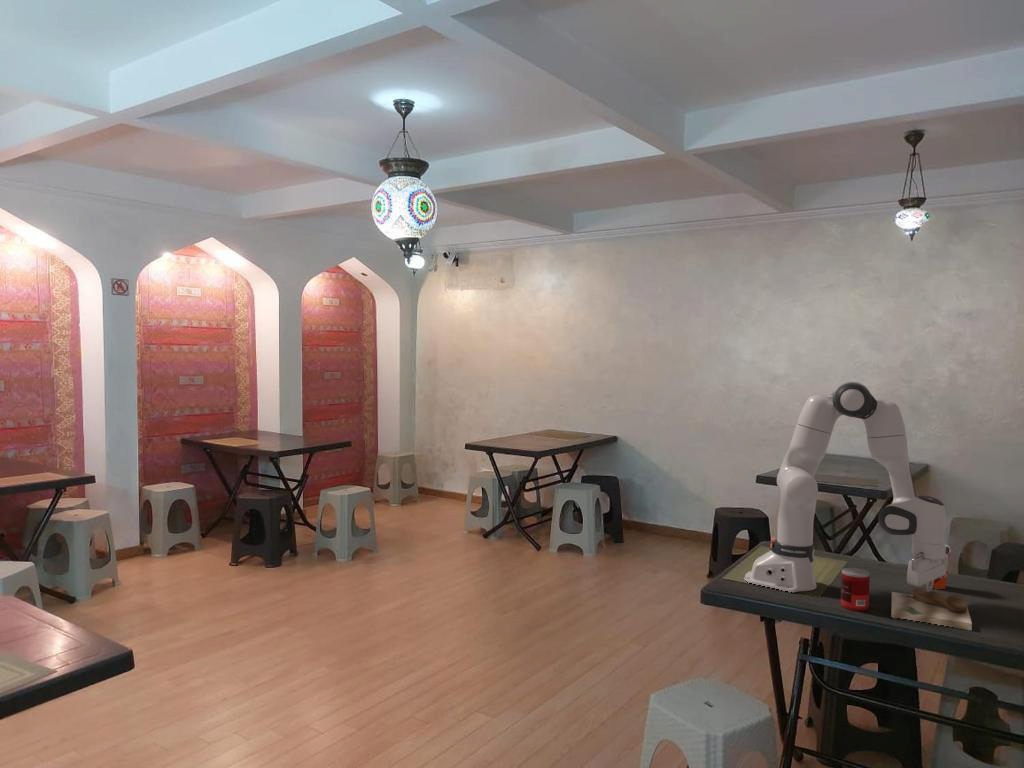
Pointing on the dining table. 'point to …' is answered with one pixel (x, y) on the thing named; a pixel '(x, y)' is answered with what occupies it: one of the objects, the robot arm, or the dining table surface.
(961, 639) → the dining table surface
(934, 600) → the wooden spoon
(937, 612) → the cream flat square slab
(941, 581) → the paper cup
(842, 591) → the canned food
